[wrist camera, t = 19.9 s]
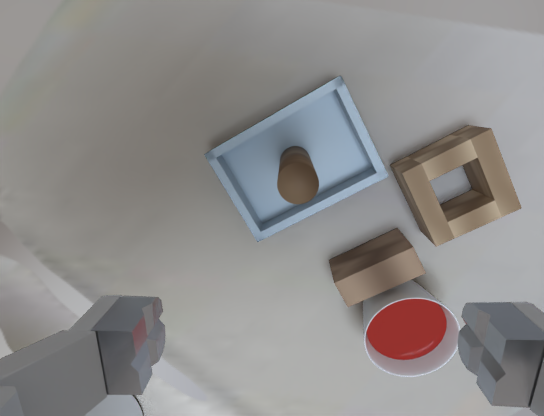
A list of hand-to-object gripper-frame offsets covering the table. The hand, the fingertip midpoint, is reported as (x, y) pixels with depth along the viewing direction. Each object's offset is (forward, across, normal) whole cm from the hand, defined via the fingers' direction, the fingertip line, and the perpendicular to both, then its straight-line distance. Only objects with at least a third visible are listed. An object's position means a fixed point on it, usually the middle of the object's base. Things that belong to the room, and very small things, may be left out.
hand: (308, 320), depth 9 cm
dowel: (+26, 0, 0) cm, 26 cm away
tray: (+27, 0, 0) cm, 27 cm away
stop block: (+27, -8, +10) cm, 30 cm away
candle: (+27, -11, +16) cm, 33 cm away
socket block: (+27, -15, +2) cm, 31 cm away
